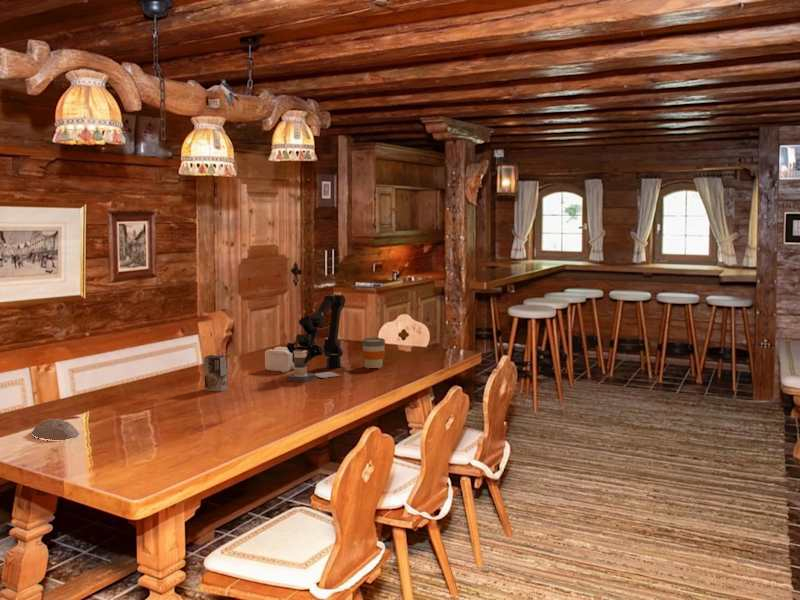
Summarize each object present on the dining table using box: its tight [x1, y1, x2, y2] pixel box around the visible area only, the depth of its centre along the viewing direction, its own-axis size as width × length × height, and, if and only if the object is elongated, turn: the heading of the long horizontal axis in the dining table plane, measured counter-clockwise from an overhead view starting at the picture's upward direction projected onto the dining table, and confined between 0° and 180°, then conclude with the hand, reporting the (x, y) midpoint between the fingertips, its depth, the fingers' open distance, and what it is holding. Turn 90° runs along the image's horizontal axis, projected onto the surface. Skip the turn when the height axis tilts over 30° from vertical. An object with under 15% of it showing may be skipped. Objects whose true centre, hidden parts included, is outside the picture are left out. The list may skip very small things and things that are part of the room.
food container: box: [31, 418, 80, 440], centre depth 294 cm, size 16×25×7 cm, turn 46°
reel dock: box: [285, 372, 316, 383], centre depth 390 cm, size 10×10×2 cm
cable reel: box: [294, 349, 308, 377], centre depth 389 cm, size 7×7×13 cm
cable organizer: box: [264, 346, 295, 373], centre depth 414 cm, size 15×11×12 cm
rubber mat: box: [314, 371, 341, 379], centre depth 400 cm, size 11×11×1 cm
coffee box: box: [203, 354, 229, 392], centre depth 368 cm, size 9×6×16 cm
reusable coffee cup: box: [361, 337, 386, 369], centre depth 421 cm, size 13×13×15 cm
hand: (299, 362), depth 388 cm, fingers closed on cable reel, 6 cm apart
